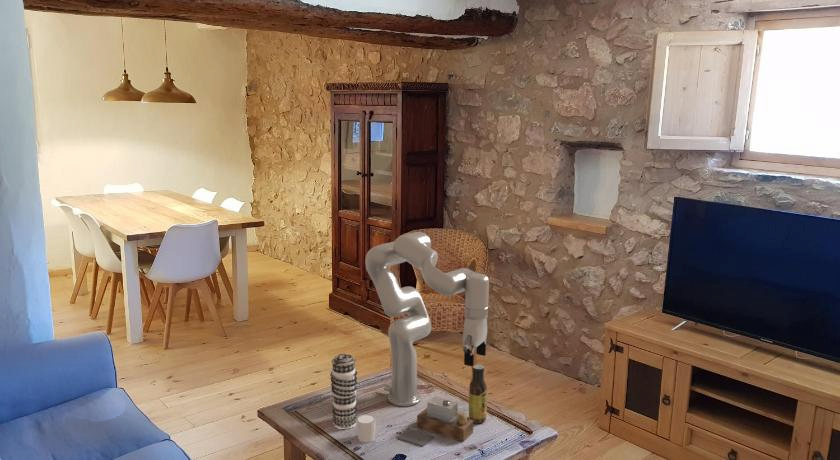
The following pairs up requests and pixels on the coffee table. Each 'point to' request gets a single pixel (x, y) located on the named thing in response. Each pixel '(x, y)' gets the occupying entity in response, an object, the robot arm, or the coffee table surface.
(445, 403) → the grey box with knob
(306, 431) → the coffee table surface
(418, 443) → the rubber mat
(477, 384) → the sauce bottle
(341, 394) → the model tower building
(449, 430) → the hand plane
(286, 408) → the coffee table surface
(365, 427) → the white cylinder
